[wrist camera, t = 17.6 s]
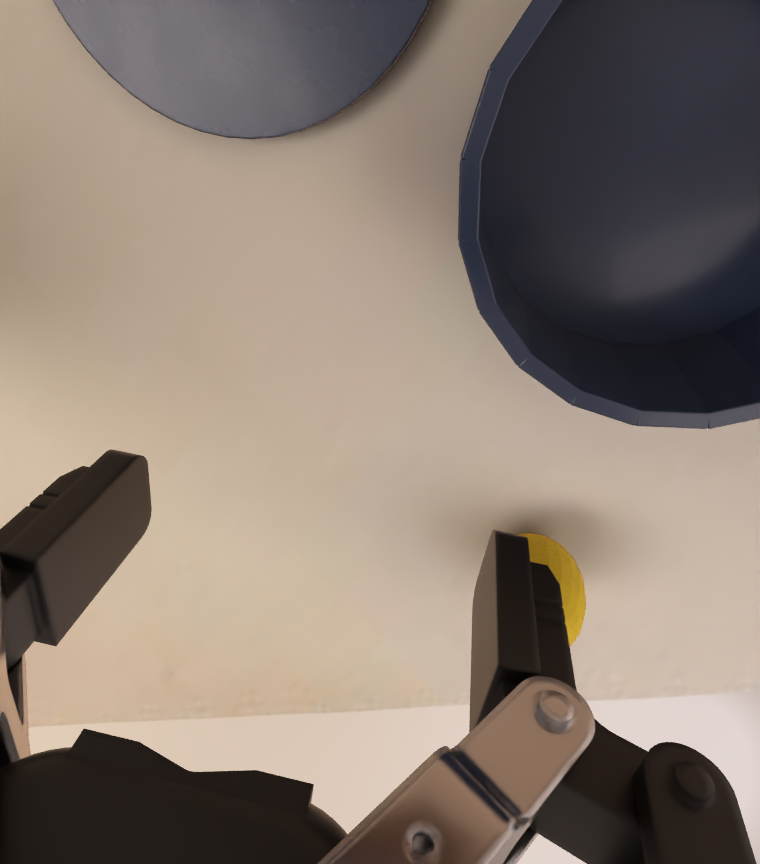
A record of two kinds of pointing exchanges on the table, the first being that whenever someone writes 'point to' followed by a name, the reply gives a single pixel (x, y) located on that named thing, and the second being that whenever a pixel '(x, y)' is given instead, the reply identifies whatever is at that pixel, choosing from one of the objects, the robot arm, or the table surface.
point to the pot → (623, 206)
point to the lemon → (561, 579)
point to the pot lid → (246, 56)
